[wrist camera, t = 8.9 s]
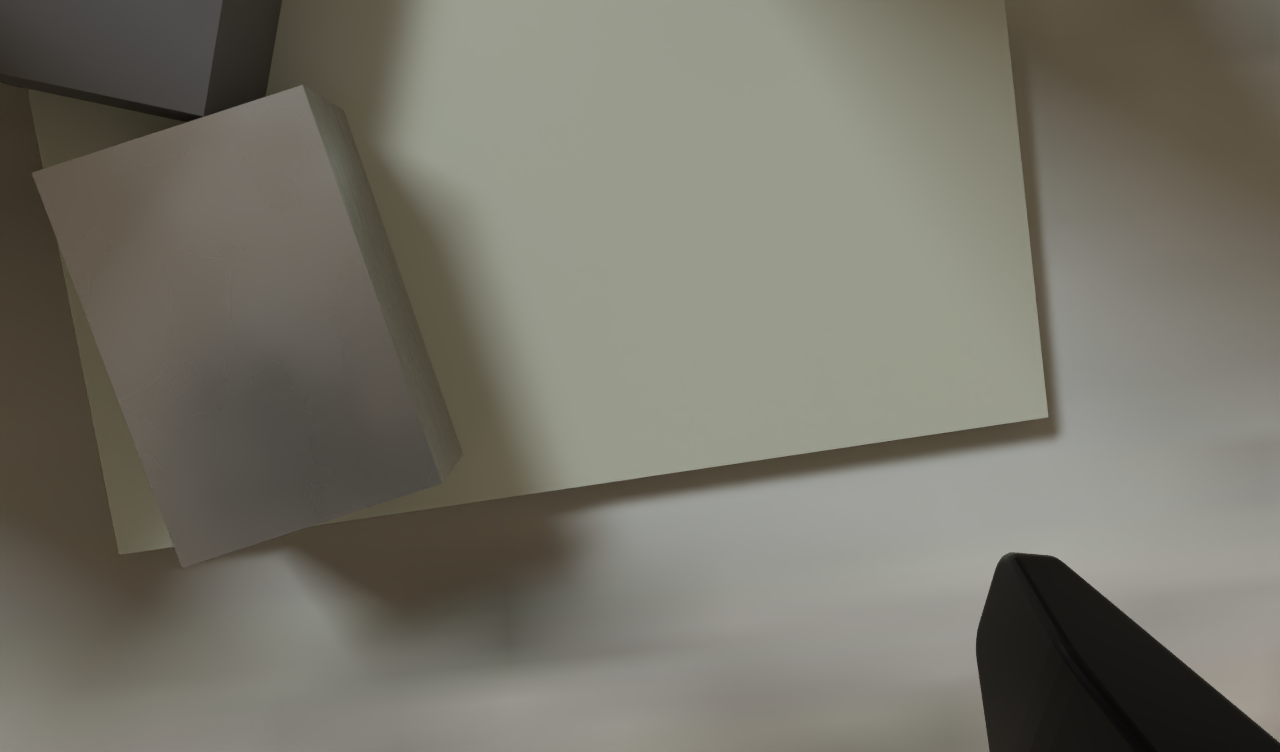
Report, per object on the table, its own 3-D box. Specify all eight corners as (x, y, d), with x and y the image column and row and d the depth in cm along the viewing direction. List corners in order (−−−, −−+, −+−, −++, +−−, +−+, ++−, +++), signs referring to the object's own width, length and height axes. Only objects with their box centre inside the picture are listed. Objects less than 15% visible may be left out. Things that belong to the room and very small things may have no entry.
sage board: (1034, 412, 19) (1048, 417, 19) (134, 545, 19) (118, 554, 18) (946, -424, 18) (957, -448, 17) (-31, -296, 18) (-53, -316, 17)
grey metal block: (463, 454, 18) (442, 483, 16) (238, 527, 18) (181, 568, 16) (343, 109, 18) (303, 84, 15) (110, 186, 18) (31, 172, 15)
